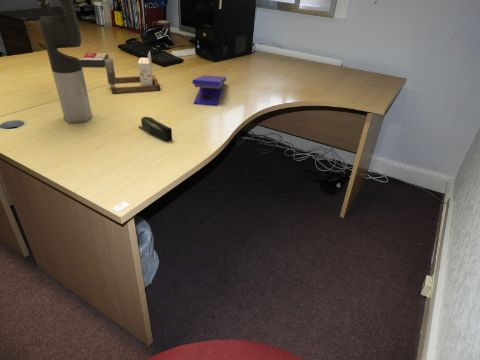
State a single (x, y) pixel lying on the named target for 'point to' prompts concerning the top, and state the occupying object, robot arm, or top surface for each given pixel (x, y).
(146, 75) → the ink cartridge box
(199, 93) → the stapler
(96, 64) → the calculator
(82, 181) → the top surface
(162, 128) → the black desk stapler
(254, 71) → the top surface
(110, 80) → the rectangular wooden frame
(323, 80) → the top surface
